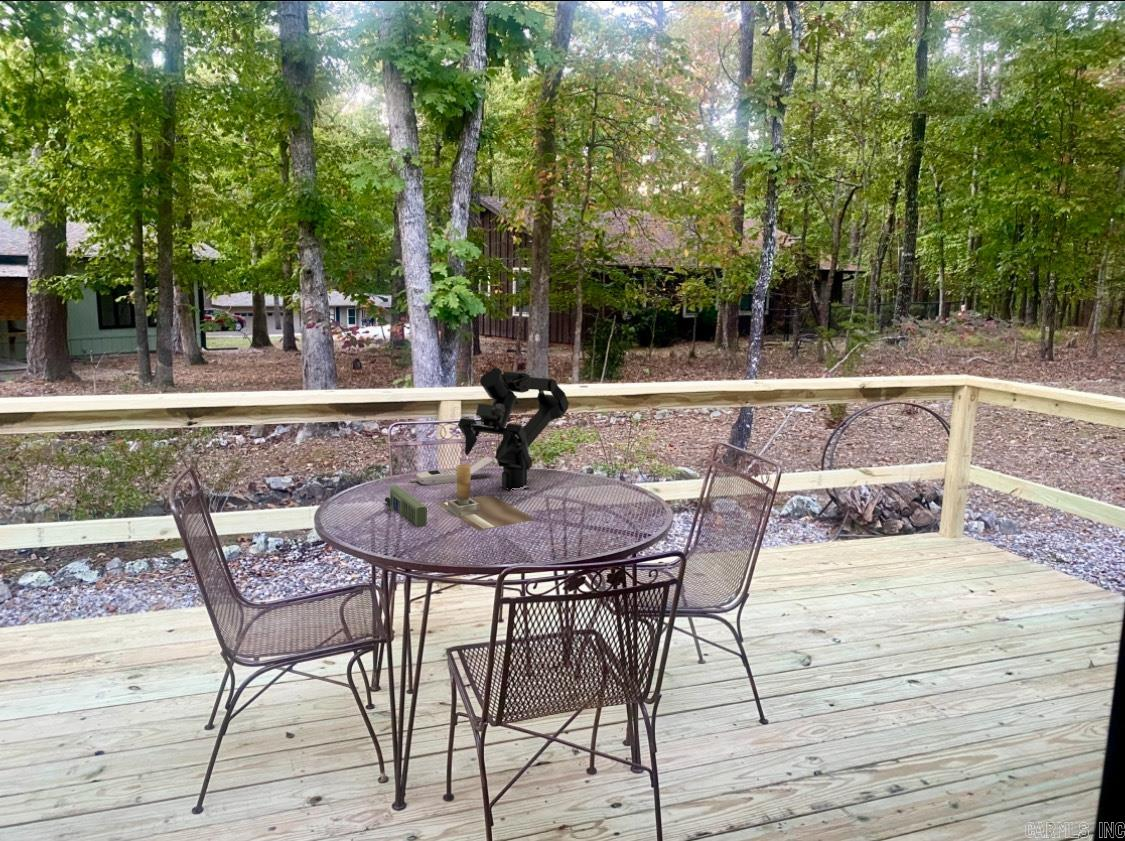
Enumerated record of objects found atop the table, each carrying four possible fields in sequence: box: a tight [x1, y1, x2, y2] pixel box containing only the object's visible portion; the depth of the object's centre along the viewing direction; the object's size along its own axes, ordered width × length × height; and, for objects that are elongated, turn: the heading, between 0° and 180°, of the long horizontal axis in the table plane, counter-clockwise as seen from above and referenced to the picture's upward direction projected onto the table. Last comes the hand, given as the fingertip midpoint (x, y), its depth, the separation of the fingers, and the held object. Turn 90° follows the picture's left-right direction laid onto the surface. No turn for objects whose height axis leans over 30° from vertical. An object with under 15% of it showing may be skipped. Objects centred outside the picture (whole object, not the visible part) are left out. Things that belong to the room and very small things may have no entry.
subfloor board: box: [438, 494, 536, 532], centre depth 188 cm, size 16×23×4 cm
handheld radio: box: [384, 484, 428, 528], centre depth 187 cm, size 7×3×25 cm
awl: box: [456, 463, 471, 506], centre depth 186 cm, size 3×3×12 cm
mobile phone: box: [409, 455, 494, 486], centre depth 220 cm, size 6×6×25 cm
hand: (481, 456), depth 195 cm, fingers open, 9 cm apart
